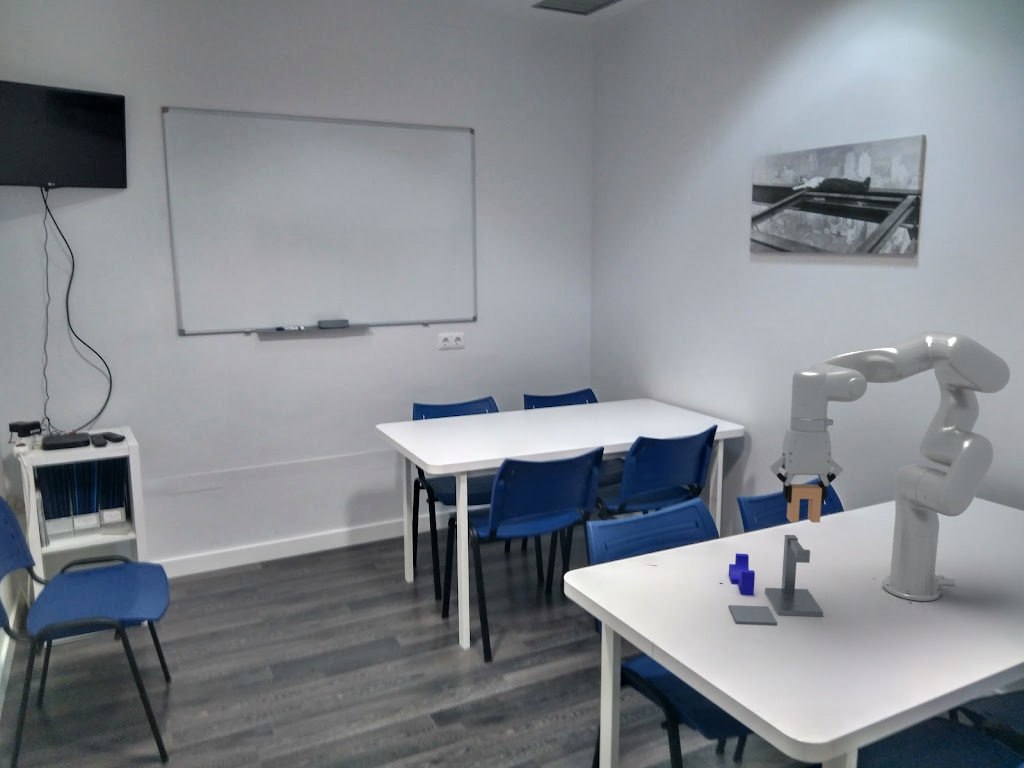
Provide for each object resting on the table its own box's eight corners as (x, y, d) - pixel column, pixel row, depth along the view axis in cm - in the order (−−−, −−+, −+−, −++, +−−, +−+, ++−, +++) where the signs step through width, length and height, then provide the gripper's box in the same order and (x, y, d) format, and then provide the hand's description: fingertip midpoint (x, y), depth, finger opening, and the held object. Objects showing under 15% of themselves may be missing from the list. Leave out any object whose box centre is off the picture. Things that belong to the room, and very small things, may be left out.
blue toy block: (728, 575, 196) (729, 552, 195) (746, 576, 195) (747, 554, 194) (734, 595, 184) (735, 571, 183) (753, 596, 183) (754, 572, 182)
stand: (806, 593, 184) (811, 533, 182) (822, 616, 172) (827, 552, 170) (764, 592, 185) (768, 532, 182) (777, 615, 173) (781, 551, 171)
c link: (815, 517, 174) (817, 484, 173) (819, 522, 171) (821, 488, 170) (786, 517, 175) (788, 484, 173) (790, 521, 172) (792, 488, 170)
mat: (767, 608, 176) (768, 606, 176) (776, 625, 168) (777, 622, 168) (728, 607, 177) (728, 605, 177) (735, 623, 169) (735, 621, 169)
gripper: (842, 421, 172) (837, 496, 175) (764, 420, 174) (761, 495, 177) (854, 428, 165) (849, 507, 168) (772, 428, 166) (769, 506, 169)
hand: (804, 500), depth 172 cm, fingers closed on c link, 6 cm apart
